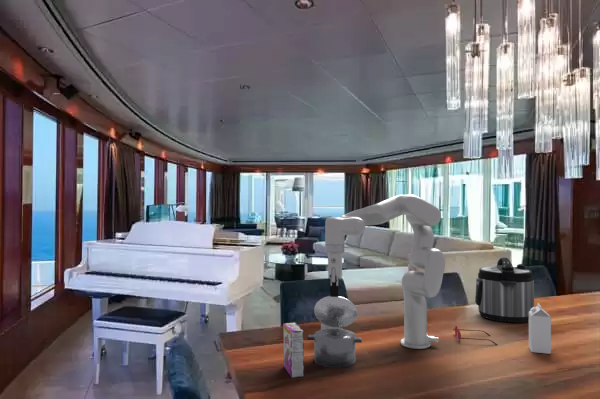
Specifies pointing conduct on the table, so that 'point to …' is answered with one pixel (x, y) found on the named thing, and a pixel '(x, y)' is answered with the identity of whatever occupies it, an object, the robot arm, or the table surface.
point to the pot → (334, 347)
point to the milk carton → (539, 330)
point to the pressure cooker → (505, 292)
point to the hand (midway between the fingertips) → (334, 295)
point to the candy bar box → (293, 349)
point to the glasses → (469, 338)
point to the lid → (335, 311)
